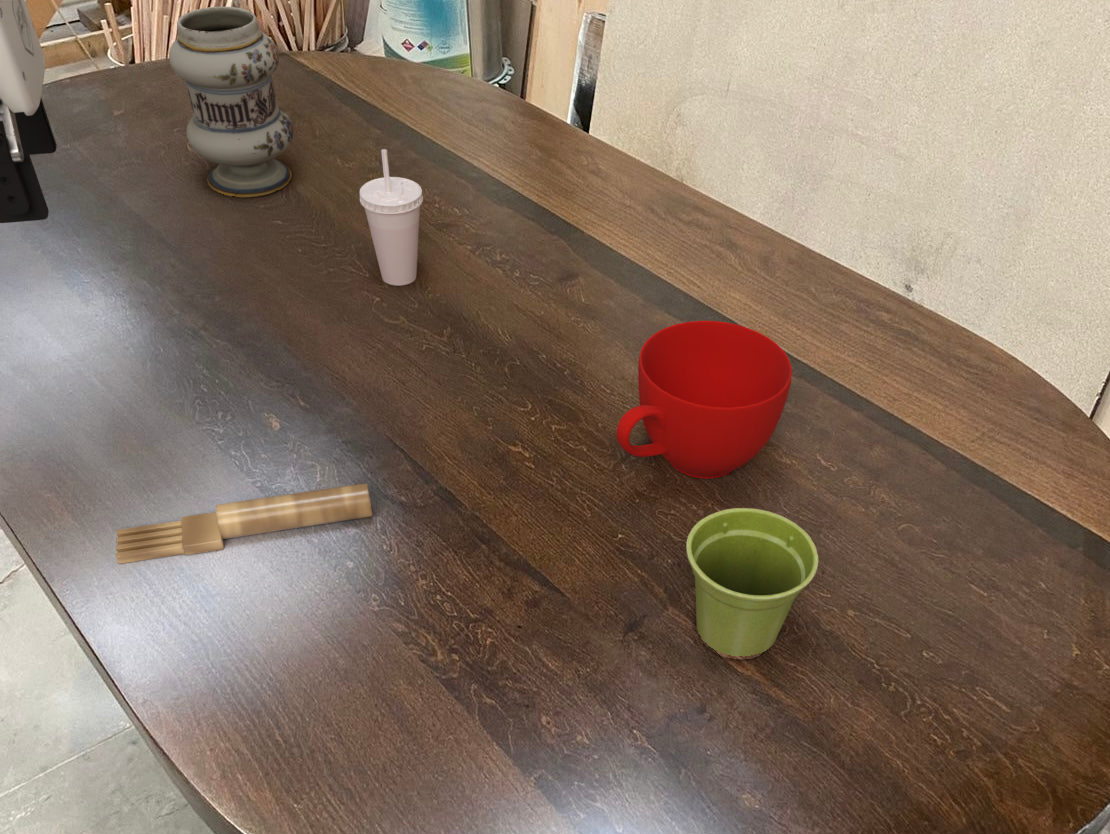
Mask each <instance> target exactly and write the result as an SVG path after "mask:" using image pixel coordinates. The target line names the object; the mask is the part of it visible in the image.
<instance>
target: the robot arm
mask: <svg viewBox="0 0 1110 834" xmlns="http://www.w3.org/2000/svg"><path fill="white" fill-rule="evenodd" d="M29 11H30V10H29V8H28V6H27V2H26V0H0V224H9V223H18V222H19V223H21V222H23V223H24V222H32V221H35V222H36V221H44V220H47V219H48V218H49V212H50V211H49V207H48V204H47V202H46V198H45V195H44V193H43V189H42V187H41V184H40V181H39V179H38V175H37V172H36V169H35V167H34V164H33V161H32V158H31V155H33V156H34V155H45V154H47V155H48V154H54V153H56V151H57V147H58V146H57V142H56V139H55V136H54V132H53V129H52V126H51V123H50V120H49V117H48V113H47V111H46V108H45V104H44V102H43V99H42V93H43V86H44V81H45V72H46V60H45V55H44V51H43V47H42V45H41V42H40V39H39V37H38V34H37V31H36V28H35V25H34V22H33V20H32V16H31V14H30V12H29Z"/></svg>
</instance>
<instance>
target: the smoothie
mask: <svg viewBox="0 0 1110 834" xmlns="http://www.w3.org/2000/svg"><path fill="white" fill-rule="evenodd" d="M380 152H381V153H380V154H381V161H382V170H383V177H378V178H374V179H372V180H369V181H367V182H365V183H363V185H362V186H361V187H360V188H359V202H360V205H361V206H362V207H363V208H364V212H365V215H366V220H367V224H368V227H369V231H370V236H371V239H372V244H373V248H374V252H375V256H376V259H377V264H378V267H379V271H380V276H381V279H382V281H383V282H384V283H386V284H388V285H390V286H395V287H396V286H406V285H410V284H412V283H414V282H415V281H416V279H417V272H418V251H419V231H420V209H421V205H422V203H423V202H424V196H423V190H422V187H421V186H420V184H419V183H417V182H416V181H414V180H412V179H409V178H405V177H400V176H390V167H389V158H388V149H385V148H383V149H381V150H380Z"/></svg>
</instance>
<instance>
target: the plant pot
mask: <svg viewBox="0 0 1110 834" xmlns="http://www.w3.org/2000/svg"><path fill="white" fill-rule="evenodd" d="M685 544H686V546H685V553H686V557H687V560H688V563H689V565H690V567H691V570H692V574H693V576H694V585H695V586H694V589H695V612H696V613H695V614H696V615H695V616H696V617H695V618H696V631H697V630H698V633H699V634H700V636H701V637H702V639H703V641H705V642H706V643H707V644H708V645H709V646H710V647H711V648H713V649H714V650H717V651H718V652H721V653H724V654H727V655H731V656H743V657H745V656H751V655H755V654H759V653H762V652H764V651H766V650H767V649H769V648H770V647H771V646H772V645H773V646H774V644H775V642H776V640H777V638H778V636H779V634H780V632H781V630H782V627H783V625H784V623H785V621H786V618H787V616H788V614H789V612H790V610H791V608H792V606H793V603H794V601H795V599H796V597H797V596H798V595H800V593H801V592H802V591H803V590H804V589H805V588H806V587H807V586H808V585H810V584H811V582H812V581H813V579H814V577H815V575H816V574H817V571H818V566H819V555H818V550H817V547H816V545H815V543H814V541H813V540H812V538H811V537H810V535H809V534H808V532H807V531H805V529H803V528H802V527H801V526H799V525H798V524H797V523H796V522H794V521H792V520H791V519H789V518H786V517H784V516H783V515H781V514H778V513H774V512H772V511H769V510H764V509H759V508H749V507H736V508H728V509H722V510H720V511H719V510H718V511H716V512H714V513H711V514H709V515H707V516H705V517H704V518H701V519H700V520H699V521H698V522H697V523H696V524H695V525H694V526H693V527H692V528H691V530H690V532H689V533H688V536H687V539H686V543H685ZM698 633H697V634H698ZM773 643H774V644H773ZM773 646H772V647H773ZM772 647H771V648H772ZM711 648H710V649H711ZM771 648H770V649H771ZM770 649H769V650H770ZM714 650H713V651H714ZM766 652H767V651H766Z"/></svg>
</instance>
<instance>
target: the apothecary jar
mask: <svg viewBox="0 0 1110 834" xmlns="http://www.w3.org/2000/svg"><path fill="white" fill-rule="evenodd" d="M176 30H177V38H176V39H174V41H173V42H172V44H171V46H170V49H169V52H168V61H169V64H170V67H171V69H172V71H173V72H174V73H175V75H177V76H178V77H179V78H180V79H182V80H184V81H185V85H186V89H187V92H188V97H189V101H190V106H191V110H192V117H191V118H190V119H189V121H188V123H187V127H186V138H187V141H188V143H189V145H190V147H191V148H192V150H194V152H196V153H197V154H198V155H199V156H200V157H202V158H203V159H205V160H208V161H209V162H211V163H215V164H216V165H215V166H214V169H213V170H210V172H209V173H208V174H207V177H206V178H207V179H206V181H207V184H208V186H209V187H210V188H211V189H212V190H213V191H215V192H217V193H218V194H220V193H221V195H223V194H224V195H223V196H228V197H232V196H235V197H234V198H255V197H263V196H266V195H271V194H273V193H275V192H278V191H280V190H282V189H284V188H285V187H286V186H287V185H288V184H289V183H290V182H289V181H291V180H292V177H293V176H292V175H293V174H292V170H291V169H290V167H289V166H288V165H287V164H285V162H282V161H281V160H279V159H277V158H278V157H279V156H280V155H282V154H283V153H284V152H285V151H286V150H287V149H288V147H290V145H291V143H292V141H293V138H294V125H293V122H292V120H291V118H290V117H289V115H288V114H287V112H286V111H284V109H282V108H281V107H279V105H278V100H277V96H276V92H275V87H274V82H273V76H272V75H273V73H274V72H276V70H277V68H278V66H279V64H280V52H279V49H278V47H277V45H276V43H275V42H274V41H273V39H272V38H271V37H270V36H268V35H267V34H266V33H265V32H263V31H262V29H261V28H260V24H259V21H258V18H257V16H256V15H255V14H254V12H252V11H249V10H247V9H244V8H241V7H235V6H210V7H209V6H208V7H203V8H198V9H194V10H191V11H188V12H186V13H184V14H183V15H181V16H180V17H179V18H178V19H177V21H176ZM277 190H278V191H277Z"/></svg>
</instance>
